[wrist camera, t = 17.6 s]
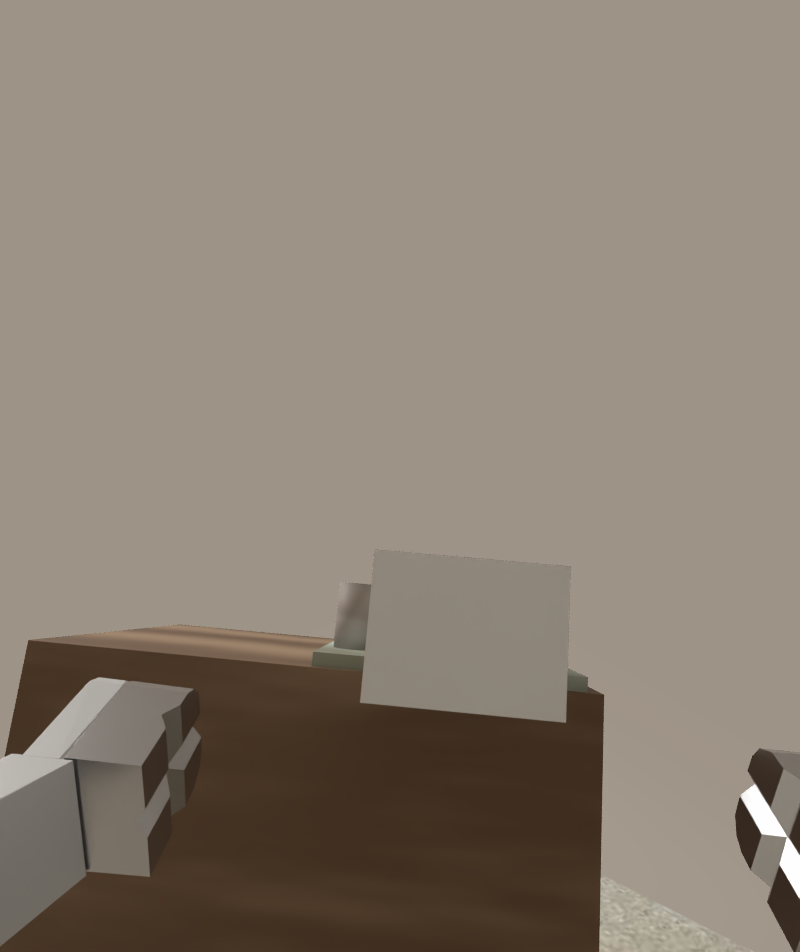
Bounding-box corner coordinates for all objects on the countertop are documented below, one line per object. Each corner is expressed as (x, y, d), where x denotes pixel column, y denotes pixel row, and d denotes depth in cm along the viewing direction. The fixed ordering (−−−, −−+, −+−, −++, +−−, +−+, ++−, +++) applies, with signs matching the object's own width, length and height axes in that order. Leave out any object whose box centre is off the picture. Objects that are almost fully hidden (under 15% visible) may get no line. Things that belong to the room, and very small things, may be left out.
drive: (396, 636, 33) (401, 580, 34) (468, 643, 33) (472, 586, 34) (359, 702, 12) (375, 544, 12) (565, 722, 12) (571, 561, 12)
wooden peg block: (96, 1166, 30) (188, 572, 36) (503, 1220, 29) (530, 602, 35) (-178, 1649, 16) (45, 554, 22) (582, 1779, 15) (605, 604, 21)
